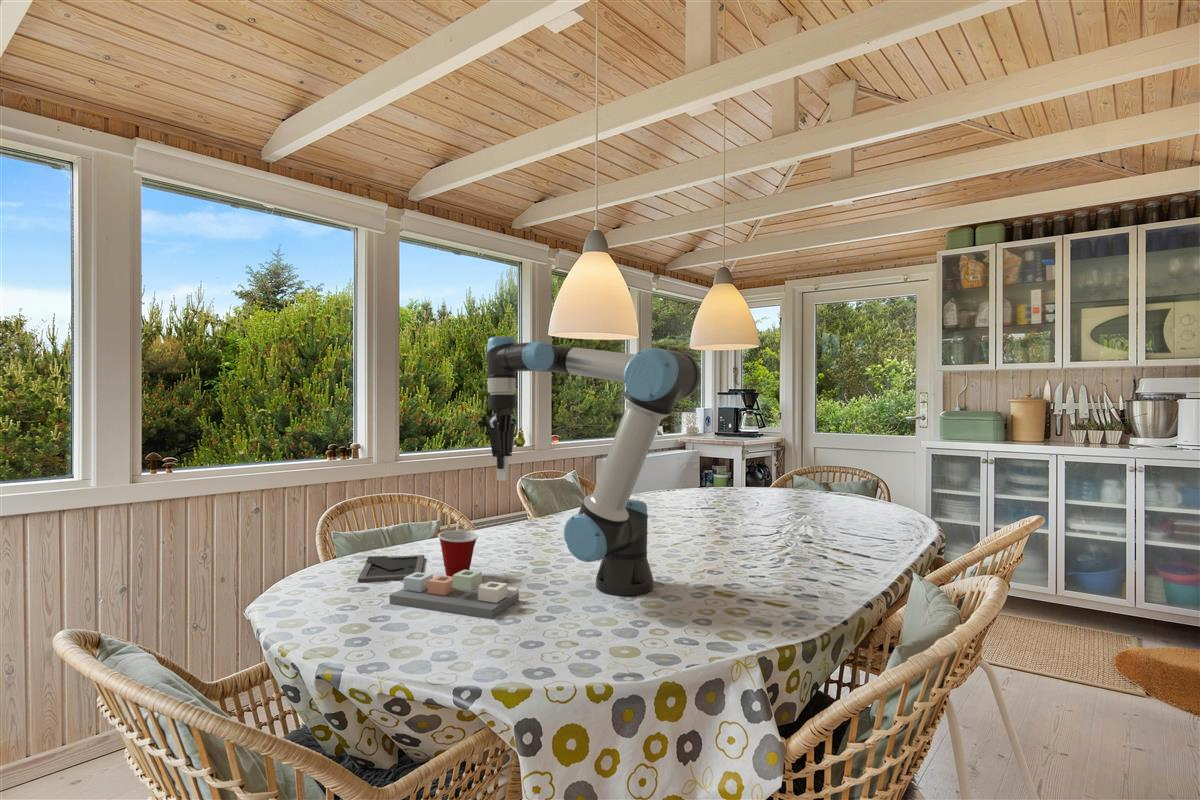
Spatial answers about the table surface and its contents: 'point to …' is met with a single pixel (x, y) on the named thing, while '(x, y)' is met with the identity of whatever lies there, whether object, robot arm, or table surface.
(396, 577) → the picture frame
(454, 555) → the plastic cup
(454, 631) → the table surface
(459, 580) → the key sage
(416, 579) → the key blue
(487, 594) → the key ivory
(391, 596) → the keypad base
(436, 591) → the key terracotta
